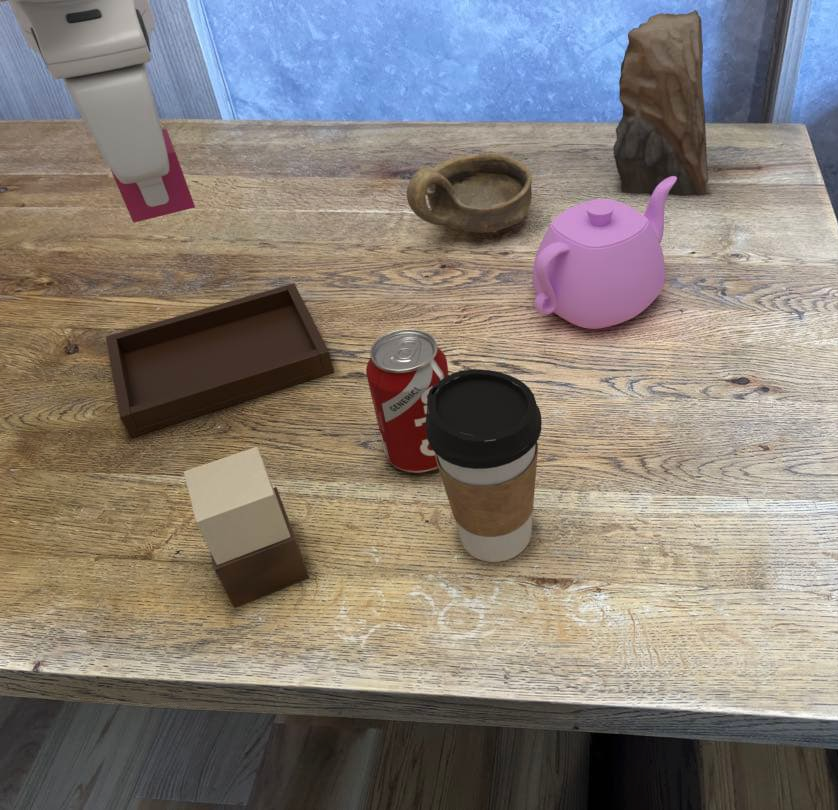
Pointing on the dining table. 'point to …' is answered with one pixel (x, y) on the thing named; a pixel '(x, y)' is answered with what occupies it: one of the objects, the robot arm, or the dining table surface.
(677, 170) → the brown rock
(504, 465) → the coffee cup
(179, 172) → the pink block
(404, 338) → the soda can
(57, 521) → the dining table surface
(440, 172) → the bowl
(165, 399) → the tray
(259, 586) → the walnut block
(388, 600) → the dining table surface
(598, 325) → the teapot
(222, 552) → the cream block
